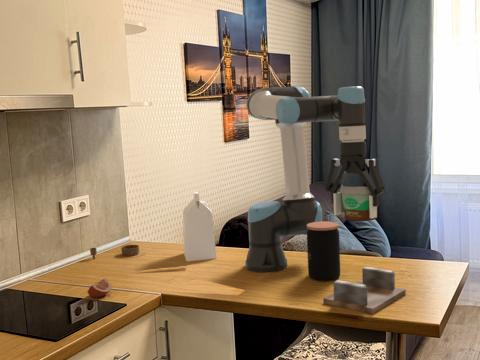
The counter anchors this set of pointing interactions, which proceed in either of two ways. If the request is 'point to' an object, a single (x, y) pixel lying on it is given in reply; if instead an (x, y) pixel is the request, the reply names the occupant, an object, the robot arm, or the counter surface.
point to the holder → (366, 291)
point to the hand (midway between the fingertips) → (355, 216)
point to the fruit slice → (99, 288)
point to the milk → (198, 231)
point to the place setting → (126, 251)
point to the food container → (356, 203)
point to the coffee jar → (323, 251)
